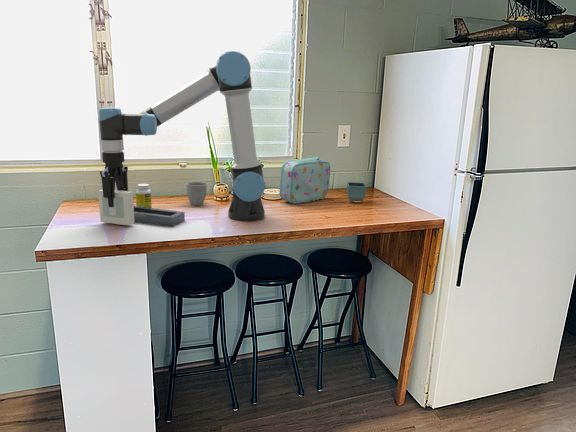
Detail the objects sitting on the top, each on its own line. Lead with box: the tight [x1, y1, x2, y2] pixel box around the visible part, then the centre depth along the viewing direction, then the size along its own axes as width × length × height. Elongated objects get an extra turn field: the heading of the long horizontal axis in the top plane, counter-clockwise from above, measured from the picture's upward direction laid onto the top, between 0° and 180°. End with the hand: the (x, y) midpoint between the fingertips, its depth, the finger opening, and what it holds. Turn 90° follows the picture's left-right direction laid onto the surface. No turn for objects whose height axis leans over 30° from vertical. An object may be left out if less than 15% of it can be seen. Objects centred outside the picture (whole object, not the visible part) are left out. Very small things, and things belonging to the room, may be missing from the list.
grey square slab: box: [97, 189, 136, 226], centre depth 176 cm, size 12×4×12 cm, turn 74°
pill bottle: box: [135, 183, 153, 208], centre depth 198 cm, size 6×6×11 cm
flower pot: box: [346, 181, 368, 202], centre depth 230 cm, size 9×9×9 cm
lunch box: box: [279, 156, 331, 205], centre depth 227 cm, size 27×10×21 cm, turn 133°
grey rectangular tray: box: [134, 205, 186, 227], centre depth 185 cm, size 24×10×4 cm, turn 74°
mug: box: [186, 181, 208, 207], centre depth 213 cm, size 12×9×10 cm
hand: (117, 213), depth 176 cm, fingers closed on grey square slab, 4 cm apart
